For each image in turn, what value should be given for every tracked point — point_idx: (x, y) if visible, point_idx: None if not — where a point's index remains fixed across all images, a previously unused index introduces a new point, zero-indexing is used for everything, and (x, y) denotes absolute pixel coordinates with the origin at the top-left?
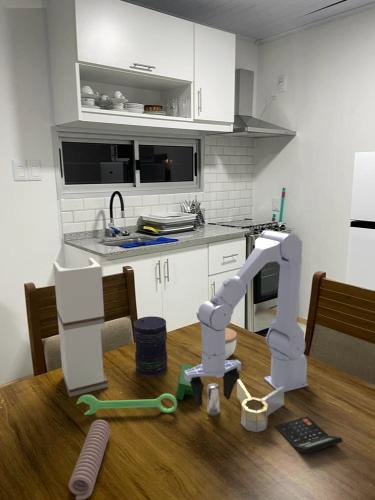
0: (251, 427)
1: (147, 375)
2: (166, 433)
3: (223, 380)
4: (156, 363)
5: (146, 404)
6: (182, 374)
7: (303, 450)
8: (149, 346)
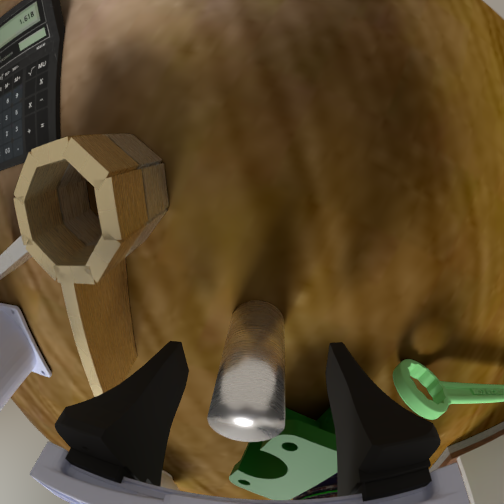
0: (138, 147)
1: None
2: (472, 265)
3: (168, 433)
4: None
5: (464, 390)
6: (314, 481)
7: None
8: None
